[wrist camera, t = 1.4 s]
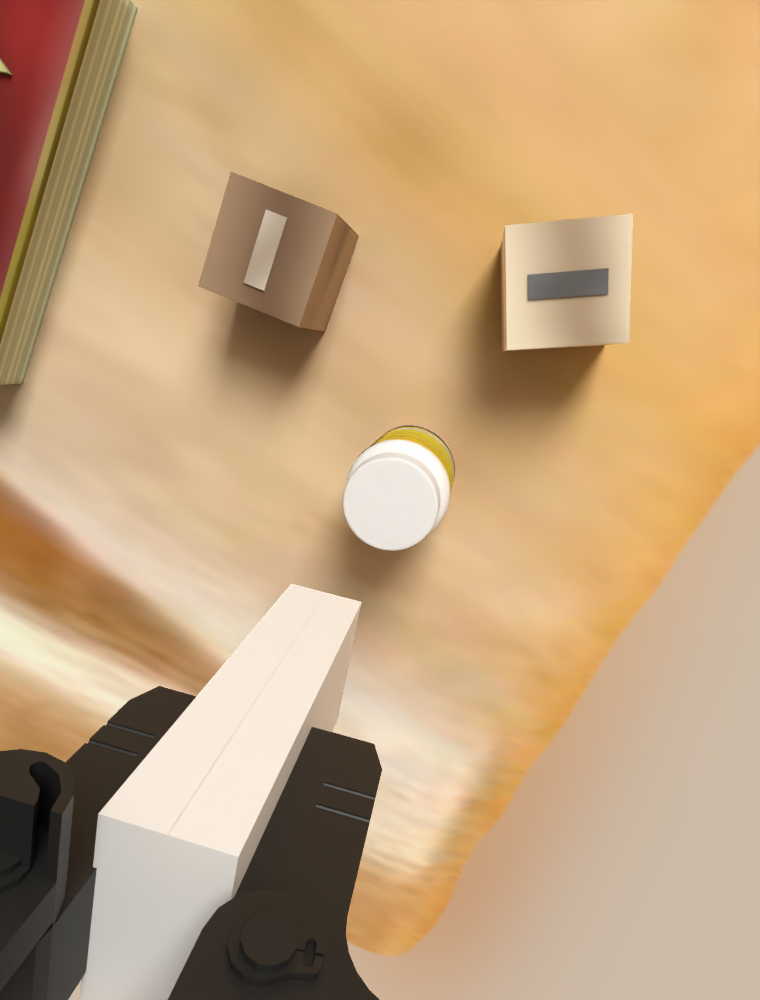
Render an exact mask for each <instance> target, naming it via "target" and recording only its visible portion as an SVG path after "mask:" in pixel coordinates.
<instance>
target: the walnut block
mask: <svg viewBox="0 0 760 1000" xmlns="http://www.w3.org/2000/svg"><path fill="white" fill-rule="evenodd" d="M358 236H359V235H358V234H357V233H356V232H355V231H354V230H353V229H352V228H351V227H350V226H349V225H348V224H347V223H346V222H345V221H344V220H343V219H342V218H341V217H340V216H339V215H338V214H336V213H334V212H331V211H329V210H326V209H324V208H321V207H319V206H316V205H314V204H311V203H309V202H306V201H304V200H301V199H299V198H296V197H294V196H291V195H289V194H286V193H283V192H281V191H278V190H276V189H273V188H271V187H268V186H266V185H263V184H261V183H258V182H256V181H253V180H251V179H248V178H246V177H243V176H241V175H238V174H236V173H233V172H231V173H230V177H229V180H228V184H227V187H226V191H225V194H224V198H223V201H222V205H221V208H220V212H219V215H218V219H217V222H216V226H215V229H214V233H213V236H212V240H211V243H210V247H209V250H208V254H207V257H206V261H205V264H204V268H203V271H202V275H201V278H200V282H199V285H198V286H199V287H202V288H204V289H206V290H209V291H211V292H214V293H216V294H219V295H221V296H224V297H226V298H228V299H231V300H233V301H236V302H238V303H241V304H243V305H246V306H248V307H250V308H253V309H255V310H258V311H260V312H263V313H265V314H268V315H270V316H272V317H275V318H277V319H280V320H282V321H285V322H287V323H290V324H292V325H294V326H297V327H300V328H306V329H312V330H318V331H324V332H325V331H326V328H327V325H328V322H329V319H330V316H331V314H332V311H333V308H334V305H335V302H336V299H337V296H338V294H339V291H340V288H341V285H342V282H343V279H344V276H345V274H346V271H347V268H348V265H349V262H350V259H351V256H352V254H353V251H354V248H355V245H356V242H357V239H358Z"/></svg>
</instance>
